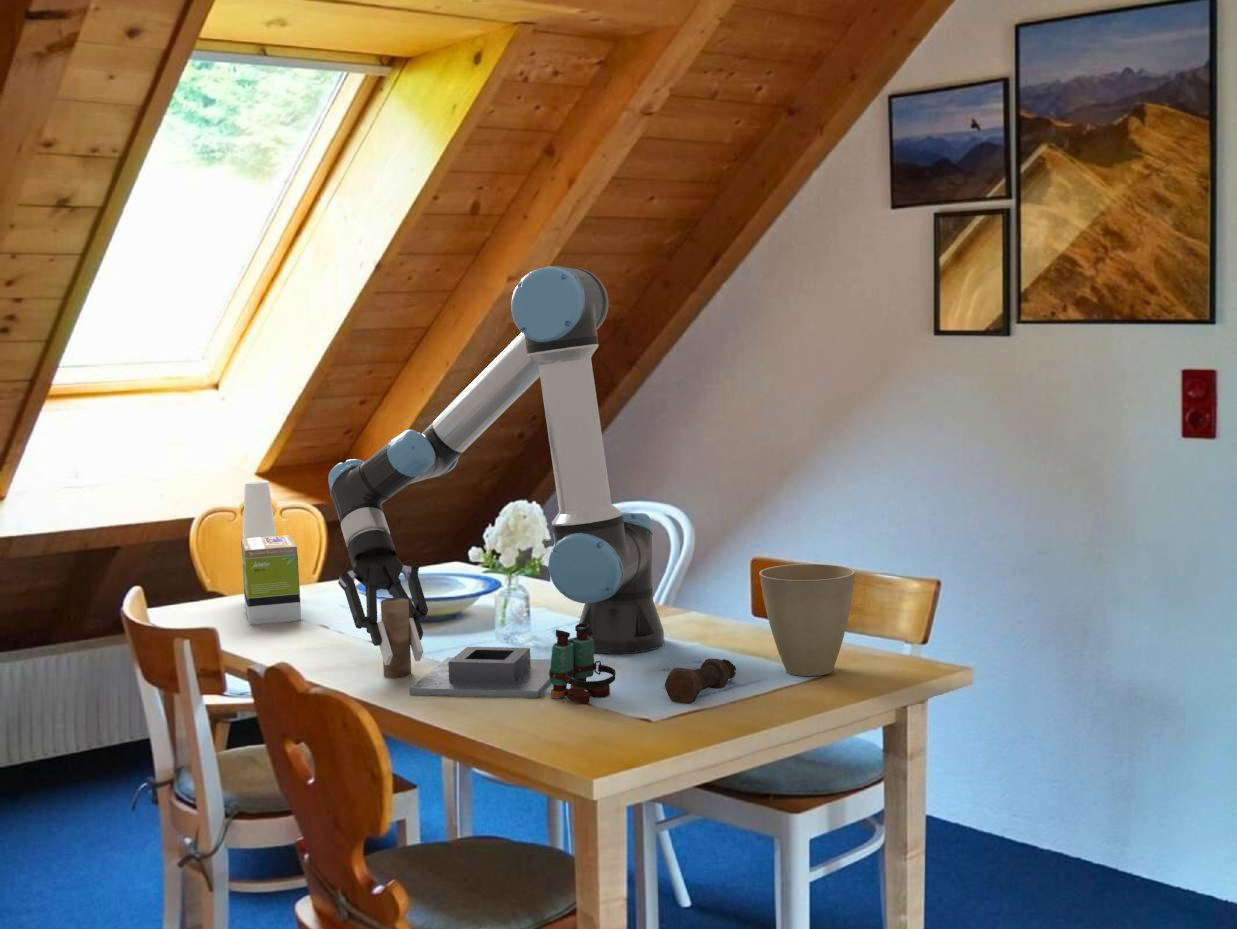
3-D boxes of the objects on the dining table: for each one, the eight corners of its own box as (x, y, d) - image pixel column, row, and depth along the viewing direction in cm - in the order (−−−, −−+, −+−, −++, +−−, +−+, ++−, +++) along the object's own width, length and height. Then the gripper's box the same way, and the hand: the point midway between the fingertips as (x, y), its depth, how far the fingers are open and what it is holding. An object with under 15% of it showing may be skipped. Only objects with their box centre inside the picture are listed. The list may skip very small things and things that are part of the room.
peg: (415, 671, 239) (412, 598, 237) (406, 678, 234) (403, 603, 233) (388, 670, 239) (386, 598, 238) (379, 677, 235) (376, 603, 234)
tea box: (243, 611, 292) (239, 537, 290) (295, 606, 295) (291, 533, 293) (248, 626, 278) (244, 548, 276) (302, 621, 281) (298, 544, 279)
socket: (566, 665, 240) (565, 641, 240) (537, 697, 221) (537, 671, 220) (448, 663, 244) (447, 639, 243) (409, 694, 224) (408, 668, 224)
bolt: (732, 693, 228) (684, 713, 216) (707, 674, 230) (658, 693, 218) (749, 663, 226) (701, 681, 214) (723, 644, 228) (675, 661, 216)
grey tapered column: (283, 597, 304) (277, 482, 302) (251, 601, 301) (245, 484, 299) (273, 592, 310) (267, 479, 308) (241, 596, 307) (235, 481, 304)
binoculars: (592, 643, 212) (540, 628, 218) (588, 714, 214) (537, 697, 220) (631, 632, 219) (580, 618, 225) (627, 700, 221) (577, 684, 227)
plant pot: (826, 656, 243) (825, 560, 241) (873, 676, 229) (873, 574, 227) (744, 666, 237) (743, 568, 236) (787, 687, 223) (786, 583, 222)
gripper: (414, 550, 253) (451, 664, 240) (313, 559, 245) (346, 678, 232) (423, 523, 247) (461, 638, 234) (321, 532, 240) (354, 651, 227)
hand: (404, 658), depth 233 cm, fingers closed on peg, 4 cm apart
